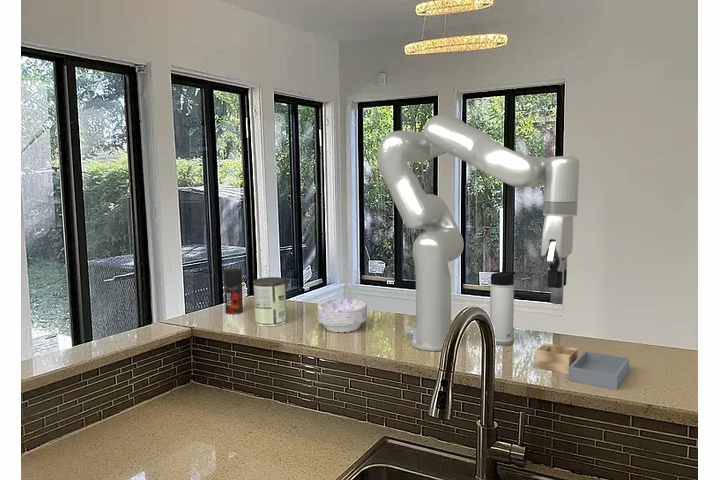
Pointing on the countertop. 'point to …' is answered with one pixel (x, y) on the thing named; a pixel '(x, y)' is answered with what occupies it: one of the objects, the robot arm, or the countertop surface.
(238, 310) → the deodorant
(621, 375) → the tray
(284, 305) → the coffee can
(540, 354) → the block
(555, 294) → the cylinder
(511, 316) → the travel mug
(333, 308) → the paper bowls
